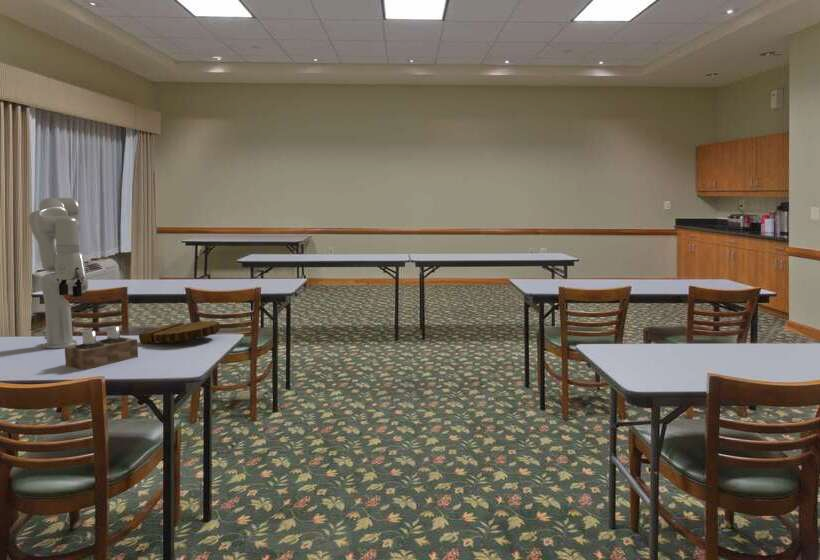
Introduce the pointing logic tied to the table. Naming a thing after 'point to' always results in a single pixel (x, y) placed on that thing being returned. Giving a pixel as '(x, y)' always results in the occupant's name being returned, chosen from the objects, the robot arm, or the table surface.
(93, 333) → the peg near
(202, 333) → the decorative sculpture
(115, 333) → the peg far
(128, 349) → the socket block
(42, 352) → the table surface
